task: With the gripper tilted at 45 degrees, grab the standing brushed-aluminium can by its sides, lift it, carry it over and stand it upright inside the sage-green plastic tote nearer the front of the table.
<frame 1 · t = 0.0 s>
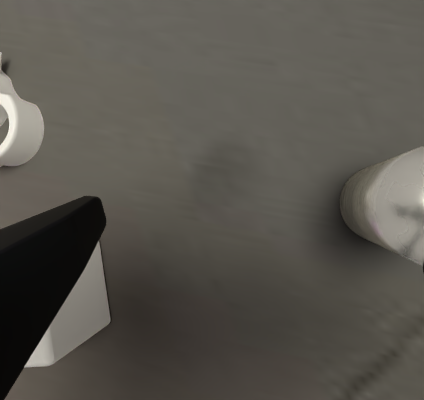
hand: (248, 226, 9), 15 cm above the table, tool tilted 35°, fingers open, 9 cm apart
can: (379, 203, 22), on the table
medicine bottle: (70, 283, 27), on the table
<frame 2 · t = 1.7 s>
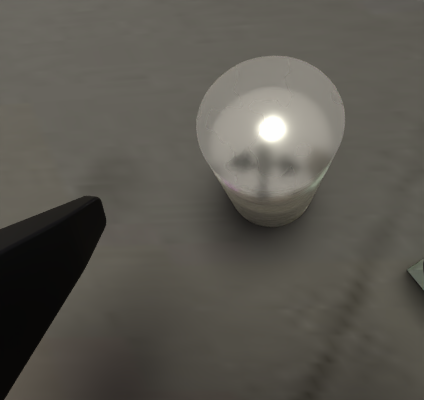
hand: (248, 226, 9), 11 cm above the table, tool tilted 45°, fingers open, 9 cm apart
can: (270, 185, 20), on the table
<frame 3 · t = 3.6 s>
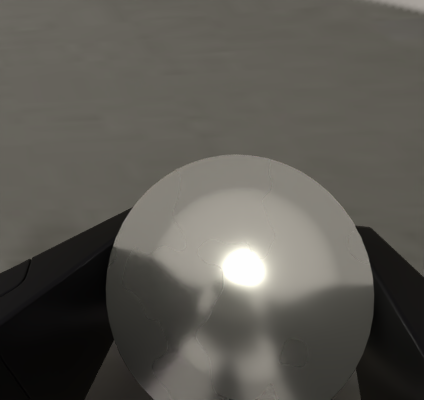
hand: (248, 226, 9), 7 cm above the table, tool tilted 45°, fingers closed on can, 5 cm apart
can: (256, 274, 15), on the table, touching gripper
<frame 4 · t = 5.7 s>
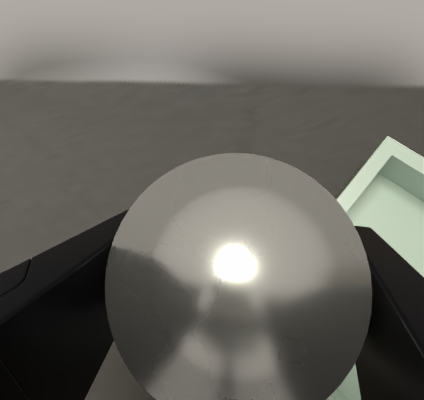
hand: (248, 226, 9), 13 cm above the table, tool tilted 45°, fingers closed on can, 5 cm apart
can: (255, 273, 15), point 7 cm above the table, touching gripper
tote: (398, 307, 19), on the table
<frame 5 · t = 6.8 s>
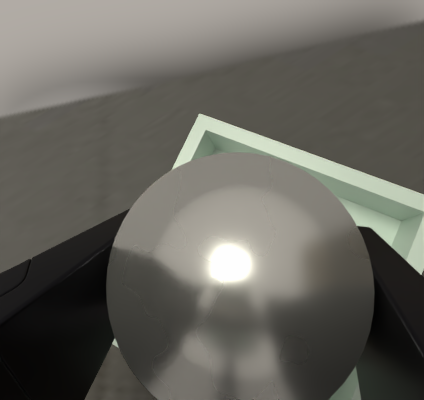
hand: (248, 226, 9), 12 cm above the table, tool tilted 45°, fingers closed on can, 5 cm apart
can: (256, 273, 15), point 5 cm above the table, touching gripper
tote: (262, 270, 20), on the table
when the fingers open (9 cm above the table, at t = 7.8 s): can drops 1 cm, resting on tote.
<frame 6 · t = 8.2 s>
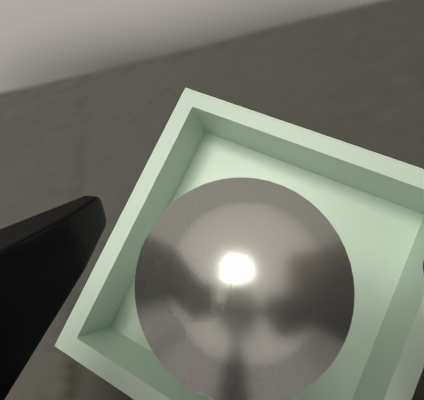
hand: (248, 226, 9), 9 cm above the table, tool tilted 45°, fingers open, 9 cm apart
can: (258, 274, 16), point 1 cm above the table, touching tote
tote: (259, 273, 17), on the table
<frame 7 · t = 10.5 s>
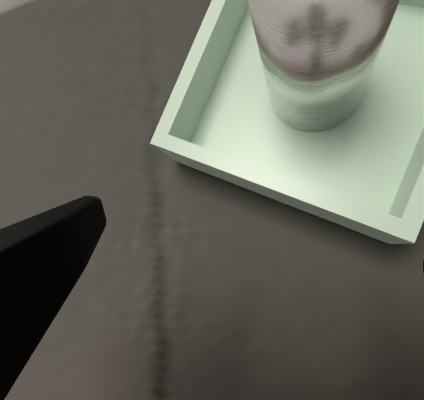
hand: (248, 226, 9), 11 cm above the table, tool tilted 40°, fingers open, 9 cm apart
can: (315, 89, 18), point 1 cm above the table, touching tote
tote: (314, 96, 19), on the table
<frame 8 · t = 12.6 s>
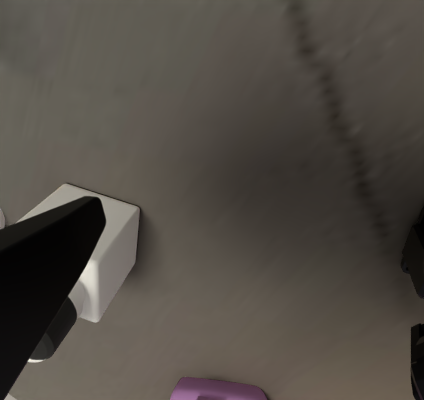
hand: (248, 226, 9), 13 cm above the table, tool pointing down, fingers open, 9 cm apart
medicine bottle: (103, 222, 29), on the table
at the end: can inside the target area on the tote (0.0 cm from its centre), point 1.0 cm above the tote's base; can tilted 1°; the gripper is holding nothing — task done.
